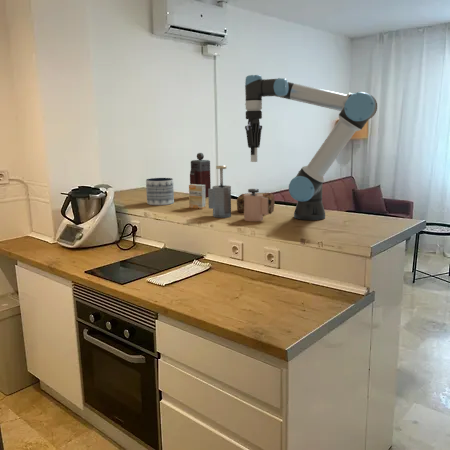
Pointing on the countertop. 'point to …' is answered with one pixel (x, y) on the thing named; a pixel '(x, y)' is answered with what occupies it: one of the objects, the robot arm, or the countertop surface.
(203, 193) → the supplement box
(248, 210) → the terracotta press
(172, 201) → the planter
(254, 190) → the glossy charcoal round knob
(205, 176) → the dark red french press
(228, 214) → the faceted cylinder
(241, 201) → the bread
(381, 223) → the countertop surface
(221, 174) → the steel plunger
